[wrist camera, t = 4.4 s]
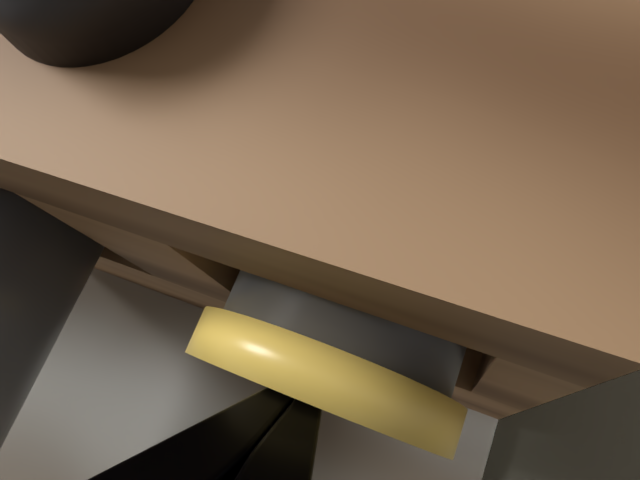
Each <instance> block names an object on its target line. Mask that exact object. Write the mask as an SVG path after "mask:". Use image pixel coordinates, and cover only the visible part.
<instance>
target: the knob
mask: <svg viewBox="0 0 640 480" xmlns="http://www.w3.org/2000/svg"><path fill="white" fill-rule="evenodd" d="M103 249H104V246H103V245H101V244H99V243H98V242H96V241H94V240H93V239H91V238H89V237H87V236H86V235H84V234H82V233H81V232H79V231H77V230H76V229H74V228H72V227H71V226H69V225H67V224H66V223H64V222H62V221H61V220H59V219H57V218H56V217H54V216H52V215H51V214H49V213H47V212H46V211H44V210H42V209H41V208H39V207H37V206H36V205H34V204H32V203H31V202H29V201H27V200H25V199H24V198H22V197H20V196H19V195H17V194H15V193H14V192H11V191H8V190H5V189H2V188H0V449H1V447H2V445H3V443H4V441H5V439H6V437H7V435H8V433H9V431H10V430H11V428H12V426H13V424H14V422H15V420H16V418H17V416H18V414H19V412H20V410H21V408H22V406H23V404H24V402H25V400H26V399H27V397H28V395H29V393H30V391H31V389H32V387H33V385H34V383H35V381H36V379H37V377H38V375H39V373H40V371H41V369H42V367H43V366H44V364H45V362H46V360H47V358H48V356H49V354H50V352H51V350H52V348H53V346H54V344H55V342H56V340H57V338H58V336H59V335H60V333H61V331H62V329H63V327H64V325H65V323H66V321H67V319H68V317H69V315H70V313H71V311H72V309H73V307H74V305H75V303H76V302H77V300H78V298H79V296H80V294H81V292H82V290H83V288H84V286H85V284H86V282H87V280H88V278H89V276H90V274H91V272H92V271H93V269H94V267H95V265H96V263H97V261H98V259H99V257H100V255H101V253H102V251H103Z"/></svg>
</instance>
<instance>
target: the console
mask: <svg viewBox="0 0 640 480" xmlns="http://www.w3.org/2000/svg"><path fill="white" fill-rule="evenodd" d="M0 188H2V189H5V190H8V191H11V192H14V193H15V194H17V195H19V196H20V197H22V198H24V199H25V200H27V201H29V202H31V203H32V204H34V205H36V206H37V207H39V208H41V209H42V210H44V211H46V212H47V213H49V214H51V215H52V216H54V217H56V218H57V219H59V220H61V221H62V222H64V223H66V224H67V225H69V226H71V227H72V228H74V229H76V230H77V231H79V232H81V233H82V234H84V235H86V236H87V237H89V238H91V239H93V240H94V241H96V242H98V243H99V244H101V245H103V246H104V249H103V251H102V253H101V255H100V257H99V259H98V261H97V263H96V265H95V267H94V269H93V271H92V272H91V274H90V276H89V278H88V280H87V282H86V284H85V286H84V288H83V290H82V292H81V294H80V296H79V298H78V300H77V302H76V303H75V305H74V307H73V309H72V311H71V313H70V315H69V317H68V319H67V321H66V323H65V325H64V327H63V329H62V331H61V333H60V335H59V336H58V338H57V340H56V342H55V344H54V346H53V348H52V350H51V352H50V354H49V356H48V358H47V360H46V362H45V364H44V366H43V367H42V369H41V371H40V373H39V375H38V377H37V379H36V381H35V383H34V385H33V387H32V389H31V391H30V393H29V395H28V397H27V399H26V400H25V402H24V404H23V406H22V408H21V410H20V412H19V414H18V416H17V418H16V420H15V422H14V424H13V426H12V428H11V430H10V431H9V433H8V435H7V437H6V439H5V441H4V443H3V445H2V447H1V449H0V480H88V479H90V478H92V477H94V476H95V475H97V474H99V473H101V472H103V471H105V470H107V469H109V468H111V467H113V466H115V465H117V464H119V463H121V462H123V461H125V460H127V459H129V458H130V457H132V456H134V455H136V454H138V453H140V452H142V451H144V450H146V449H148V448H150V447H152V446H154V445H156V444H158V443H160V442H162V441H164V440H165V439H167V438H169V437H171V436H173V435H175V434H177V433H179V432H181V431H183V430H185V429H187V428H189V427H191V426H193V425H195V424H197V423H198V422H200V421H202V420H204V419H206V418H208V417H210V416H212V415H214V414H216V413H218V412H220V411H222V410H224V409H226V408H228V407H230V406H232V405H233V404H235V403H237V402H239V401H241V400H243V399H245V398H247V397H249V396H251V395H253V394H255V393H257V392H259V391H261V390H263V389H265V388H266V387H265V386H263V385H260V384H258V383H256V382H253V381H251V380H248V379H246V378H244V377H241V376H239V375H236V374H234V373H232V372H229V371H227V370H224V369H222V368H220V367H217V366H215V365H213V364H210V363H208V362H206V361H203V360H201V359H199V358H196V357H194V356H192V355H190V354H188V353H186V352H185V351H186V348H187V346H188V344H189V342H190V339H191V337H192V335H193V333H194V330H195V328H196V326H197V324H198V322H199V319H200V317H201V315H202V313H203V310H204V308H205V307H206V306H210V307H216V308H221V309H223V308H224V306H225V304H226V302H227V299H228V297H229V295H230V292H231V290H232V288H233V286H234V283H235V281H236V279H237V276H238V274H239V272H240V270H242V271H245V272H248V273H251V274H254V275H257V276H259V277H262V278H265V279H268V280H271V281H274V282H277V283H280V284H283V285H286V286H289V287H292V288H295V289H298V290H300V291H303V292H306V293H309V294H312V295H315V296H318V297H321V298H324V299H327V300H330V301H333V302H336V303H339V304H341V305H344V306H347V307H350V308H353V309H356V310H359V311H362V312H365V313H368V314H371V315H374V316H377V317H380V318H382V319H385V320H388V321H391V322H394V323H397V324H400V325H403V326H406V327H409V328H412V329H415V330H418V331H421V332H423V333H426V334H429V335H432V336H435V337H438V338H441V339H444V340H447V341H450V342H453V343H456V344H459V345H462V346H464V347H467V348H466V352H465V355H464V358H463V361H462V365H461V368H460V371H459V374H458V378H457V381H456V384H455V388H454V391H453V394H452V397H451V399H453V400H455V401H457V402H458V403H460V404H462V405H463V406H465V407H466V408H467V409H468V411H467V415H466V418H465V421H464V425H463V428H462V432H461V435H460V438H459V442H458V445H457V449H456V452H455V455H454V459H453V460H450V459H447V458H445V457H442V456H439V455H436V454H434V453H431V452H428V451H426V450H423V449H421V448H418V447H415V446H413V445H410V444H408V443H405V442H402V441H400V440H397V439H395V438H392V437H390V436H387V435H385V434H382V433H380V432H377V431H374V430H372V429H369V428H367V427H364V426H362V425H359V424H357V423H354V422H352V421H349V420H347V419H344V418H342V417H339V416H337V415H334V414H332V413H329V412H327V411H324V410H322V416H321V422H320V429H319V435H318V442H317V448H316V455H315V461H314V468H313V475H312V480H482V477H483V473H484V470H485V466H486V463H487V459H488V455H489V452H490V448H491V445H492V441H493V437H494V434H495V430H496V427H497V423H498V420H499V419H501V418H504V417H507V416H510V415H513V414H516V413H518V412H521V411H524V410H527V409H530V408H533V407H535V406H538V405H541V404H544V403H547V402H550V401H553V400H555V399H558V398H561V397H564V396H567V395H570V394H572V393H575V392H578V391H581V390H584V389H587V388H589V387H592V386H595V385H598V384H601V383H604V382H606V381H609V380H612V379H615V378H618V377H621V376H623V375H626V374H629V373H632V372H635V371H638V370H640V0H0Z"/></svg>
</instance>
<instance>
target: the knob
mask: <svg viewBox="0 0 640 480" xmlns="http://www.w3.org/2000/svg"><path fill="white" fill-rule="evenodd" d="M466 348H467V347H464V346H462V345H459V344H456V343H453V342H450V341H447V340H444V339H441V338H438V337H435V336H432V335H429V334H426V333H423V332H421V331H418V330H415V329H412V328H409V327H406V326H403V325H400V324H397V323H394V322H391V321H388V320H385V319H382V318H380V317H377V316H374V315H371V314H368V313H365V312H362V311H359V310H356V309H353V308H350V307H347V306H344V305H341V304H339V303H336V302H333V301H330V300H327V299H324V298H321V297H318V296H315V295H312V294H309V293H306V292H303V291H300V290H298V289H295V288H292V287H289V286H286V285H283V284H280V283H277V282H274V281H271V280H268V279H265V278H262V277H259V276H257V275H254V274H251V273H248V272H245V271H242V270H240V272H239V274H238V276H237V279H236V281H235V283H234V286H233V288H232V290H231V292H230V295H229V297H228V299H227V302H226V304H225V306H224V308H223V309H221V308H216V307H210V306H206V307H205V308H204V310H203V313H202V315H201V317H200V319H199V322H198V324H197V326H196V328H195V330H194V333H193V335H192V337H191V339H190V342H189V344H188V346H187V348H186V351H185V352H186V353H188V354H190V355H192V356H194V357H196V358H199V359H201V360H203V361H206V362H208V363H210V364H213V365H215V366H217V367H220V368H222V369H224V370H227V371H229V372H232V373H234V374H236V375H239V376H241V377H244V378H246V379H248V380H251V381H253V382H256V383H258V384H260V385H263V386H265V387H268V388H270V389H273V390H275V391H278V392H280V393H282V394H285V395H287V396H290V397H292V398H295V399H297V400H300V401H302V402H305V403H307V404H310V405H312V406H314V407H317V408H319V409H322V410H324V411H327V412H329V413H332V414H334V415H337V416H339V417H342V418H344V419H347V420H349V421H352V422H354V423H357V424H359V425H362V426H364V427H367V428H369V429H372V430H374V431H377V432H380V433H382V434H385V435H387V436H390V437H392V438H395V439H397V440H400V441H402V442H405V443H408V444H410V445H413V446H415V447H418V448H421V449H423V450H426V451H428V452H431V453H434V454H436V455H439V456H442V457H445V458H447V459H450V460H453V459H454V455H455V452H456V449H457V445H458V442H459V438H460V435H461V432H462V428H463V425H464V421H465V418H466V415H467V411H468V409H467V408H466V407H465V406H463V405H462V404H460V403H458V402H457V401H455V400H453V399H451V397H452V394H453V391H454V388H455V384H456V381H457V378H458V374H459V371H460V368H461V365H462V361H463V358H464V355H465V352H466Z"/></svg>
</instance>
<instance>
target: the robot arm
mask: <svg viewBox="0 0 640 480" xmlns="http://www.w3.org/2000/svg"><path fill="white" fill-rule="evenodd" d="M321 416H322V409H319V408H317V407H314V406H312V405H310V404H307V403H305V402H302V401H300V400H297V399H295V398H292V397H290V396H287V395H285V394H282V393H280V392H278V391H275V390H273V389H270V388H268V387H266V388H265V389H263V390H261V391H259V392H257V393H255V394H253V395H251V396H249V397H247V398H245V399H243V400H241V401H239V402H237V403H235V404H233V405H232V406H230V407H228V408H226V409H224V410H222V411H220V412H218V413H216V414H214V415H212V416H210V417H208V418H206V419H204V420H202V421H200V422H198V423H197V424H195V425H193V426H191V427H189V428H187V429H185V430H183V431H181V432H179V433H177V434H175V435H173V436H171V437H169V438H167V439H165V440H164V441H162V442H160V443H158V444H156V445H154V446H152V447H150V448H148V449H146V450H144V451H142V452H140V453H138V454H136V455H134V456H132V457H130V458H129V459H127V460H125V461H123V462H121V463H119V464H117V465H115V466H113V467H111V468H109V469H107V470H105V471H103V472H101V473H99V474H97V475H95V476H94V477H92V478H90V479H88V480H312V475H313V468H314V461H315V455H316V448H317V442H318V435H319V429H320V422H321Z"/></svg>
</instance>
